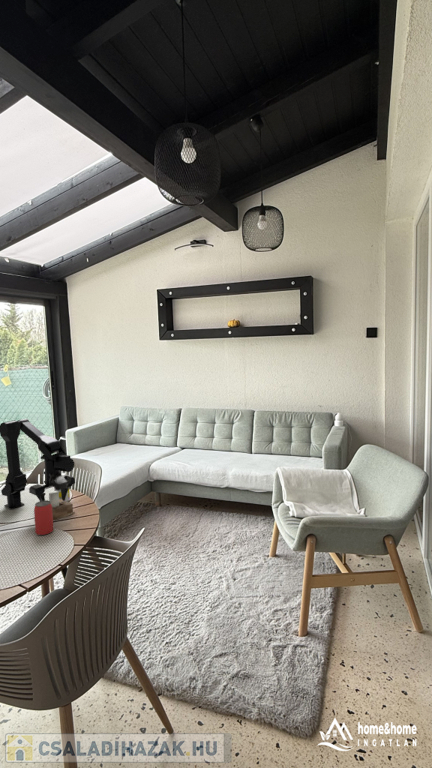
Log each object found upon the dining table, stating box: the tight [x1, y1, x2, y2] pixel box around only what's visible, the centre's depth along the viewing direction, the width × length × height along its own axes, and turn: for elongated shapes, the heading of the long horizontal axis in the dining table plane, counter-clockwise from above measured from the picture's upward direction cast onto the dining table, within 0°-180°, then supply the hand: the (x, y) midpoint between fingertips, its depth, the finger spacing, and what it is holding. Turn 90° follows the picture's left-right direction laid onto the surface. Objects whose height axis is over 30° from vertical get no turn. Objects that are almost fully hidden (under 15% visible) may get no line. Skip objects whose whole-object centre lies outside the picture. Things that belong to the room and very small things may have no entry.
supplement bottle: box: [53, 472, 71, 502], centre depth 196 cm, size 7×7×13 cm
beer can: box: [33, 499, 54, 536], centre depth 163 cm, size 7×7×12 cm
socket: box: [52, 499, 75, 522], centre depth 181 cm, size 12×12×4 cm
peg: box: [48, 490, 59, 508], centre depth 181 cm, size 4×4×9 cm
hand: (54, 503), depth 181 cm, fingers open, 9 cm apart
